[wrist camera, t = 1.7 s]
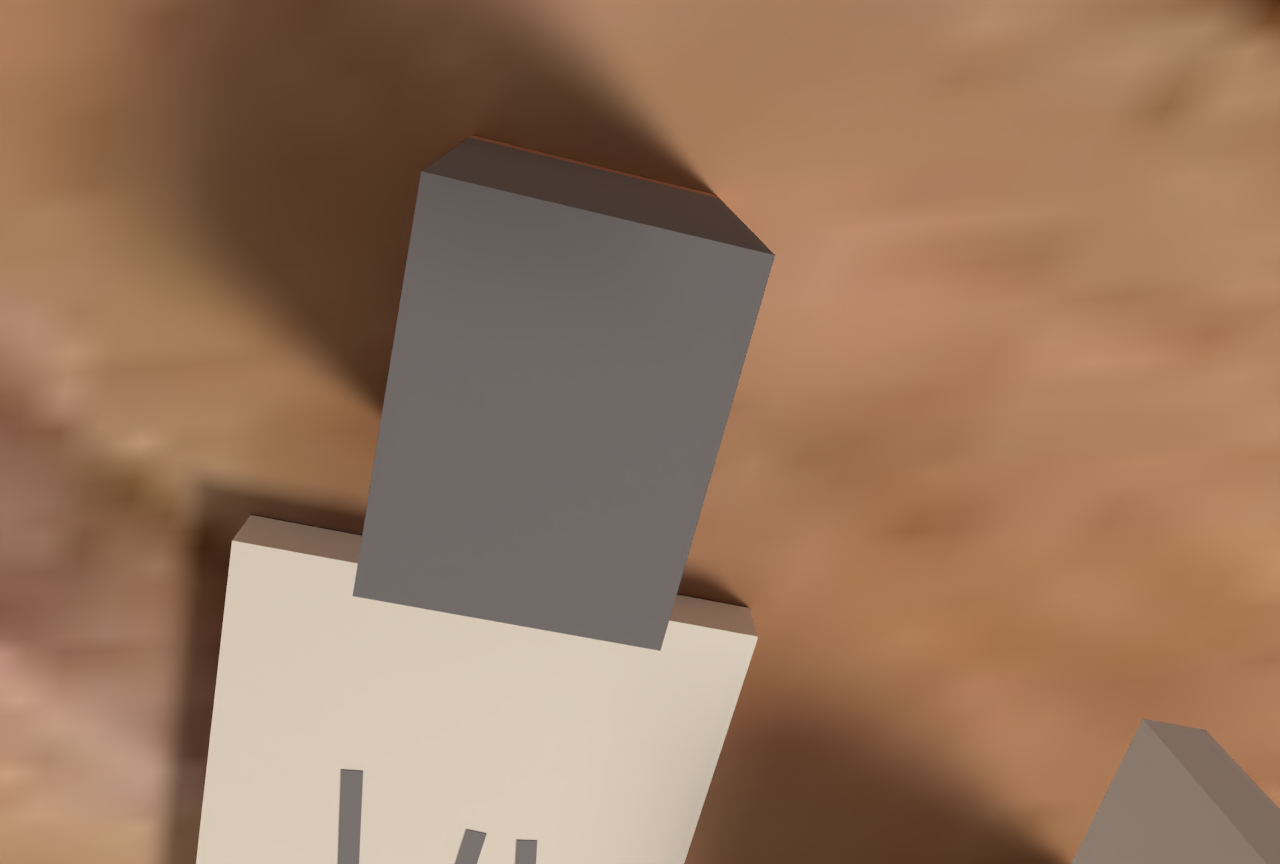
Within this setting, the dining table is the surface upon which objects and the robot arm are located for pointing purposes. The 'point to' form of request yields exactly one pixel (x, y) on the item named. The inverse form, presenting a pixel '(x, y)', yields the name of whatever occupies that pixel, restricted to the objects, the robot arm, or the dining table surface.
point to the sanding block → (556, 392)
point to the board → (450, 724)
